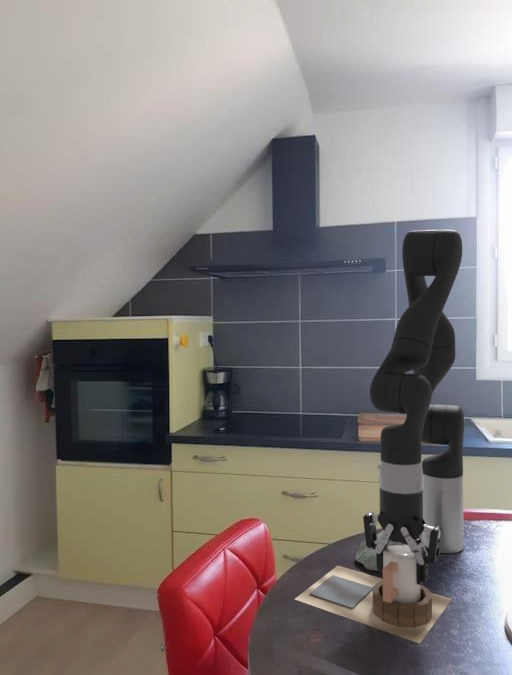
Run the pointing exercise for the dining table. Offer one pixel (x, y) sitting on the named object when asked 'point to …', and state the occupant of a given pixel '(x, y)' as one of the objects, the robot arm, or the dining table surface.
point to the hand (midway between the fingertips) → (401, 577)
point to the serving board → (367, 605)
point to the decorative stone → (371, 554)
